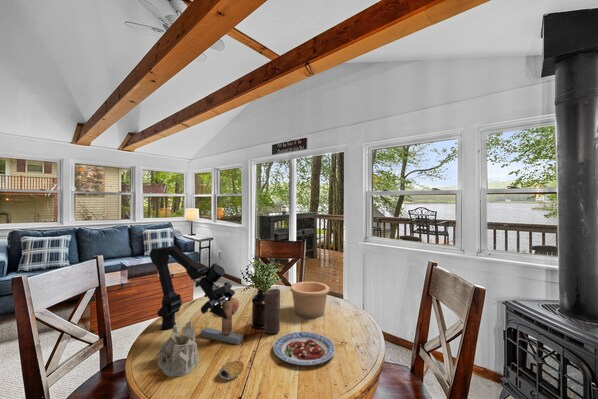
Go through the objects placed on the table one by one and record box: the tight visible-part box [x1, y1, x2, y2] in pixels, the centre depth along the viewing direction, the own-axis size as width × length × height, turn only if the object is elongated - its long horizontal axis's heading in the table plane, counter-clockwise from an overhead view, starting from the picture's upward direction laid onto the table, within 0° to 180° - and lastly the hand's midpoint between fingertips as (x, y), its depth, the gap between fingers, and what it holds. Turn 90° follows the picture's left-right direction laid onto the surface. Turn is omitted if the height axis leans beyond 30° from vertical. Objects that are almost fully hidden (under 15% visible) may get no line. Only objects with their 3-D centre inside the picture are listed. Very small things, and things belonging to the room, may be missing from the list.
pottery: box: [289, 281, 330, 320], centre depth 156 cm, size 22×22×14 cm
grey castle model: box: [157, 319, 200, 378], centre depth 105 cm, size 16×16×15 cm
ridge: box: [200, 327, 244, 345], centre depth 125 cm, size 20×4×2 cm, turn 69°
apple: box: [231, 297, 240, 314], centre depth 154 cm, size 9×9×8 cm
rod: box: [221, 301, 233, 334], centre depth 124 cm, size 4×4×13 cm
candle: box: [263, 288, 281, 334], centre depth 132 cm, size 8×7×20 cm
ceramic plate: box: [272, 331, 336, 366], centre depth 116 cm, size 26×26×3 cm
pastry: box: [217, 360, 244, 381], centre depth 101 cm, size 9×7×4 cm
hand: (229, 316), depth 124 cm, fingers closed on rod, 4 cm apart
